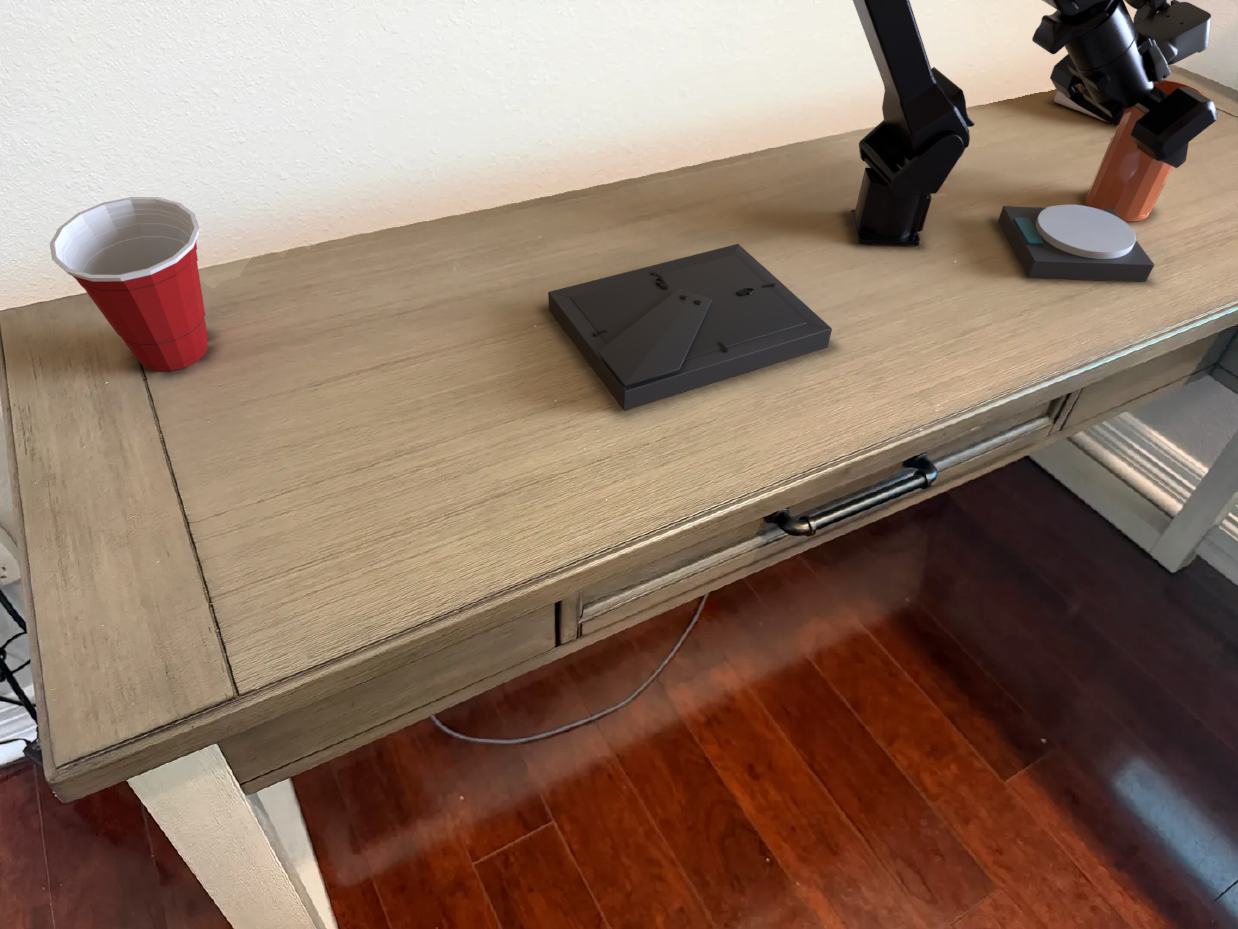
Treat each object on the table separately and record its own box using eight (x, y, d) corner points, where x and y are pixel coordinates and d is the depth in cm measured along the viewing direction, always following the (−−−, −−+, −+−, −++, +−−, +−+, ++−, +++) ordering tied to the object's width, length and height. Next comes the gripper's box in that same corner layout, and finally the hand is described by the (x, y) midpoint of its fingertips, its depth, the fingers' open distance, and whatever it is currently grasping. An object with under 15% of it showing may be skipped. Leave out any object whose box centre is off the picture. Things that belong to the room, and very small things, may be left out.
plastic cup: (98, 402, 73) (34, 277, 65) (114, 325, 80) (58, 204, 72) (237, 382, 75) (193, 258, 67) (240, 309, 83) (201, 189, 74)
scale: (1027, 277, 90) (1037, 253, 88) (996, 222, 98) (1005, 198, 96) (1145, 281, 90) (1158, 257, 88) (1105, 225, 98) (1116, 202, 96)
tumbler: (1098, 220, 99) (1150, 103, 90) (1077, 190, 104) (1124, 77, 94) (1159, 222, 99) (1218, 106, 90) (1135, 192, 104) (1188, 79, 94)
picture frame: (624, 410, 74) (827, 347, 81) (625, 384, 72) (833, 321, 79) (548, 310, 84) (736, 261, 91) (547, 284, 82) (739, 236, 89)
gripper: (1252, 11, 77) (1290, 125, 87) (1120, -52, 90) (1165, 53, 100) (1134, 108, 81) (1182, 207, 91) (1024, 35, 94) (1076, 128, 104)
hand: (1152, 144), depth 96 cm, fingers open, 9 cm apart
